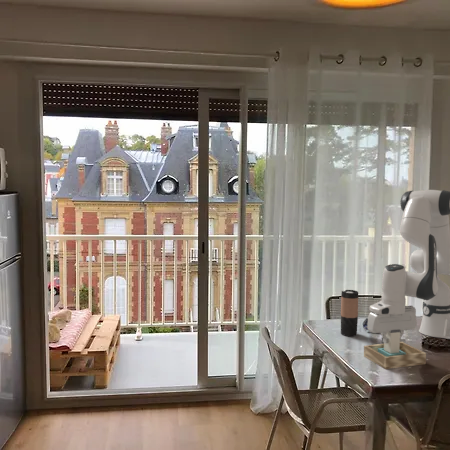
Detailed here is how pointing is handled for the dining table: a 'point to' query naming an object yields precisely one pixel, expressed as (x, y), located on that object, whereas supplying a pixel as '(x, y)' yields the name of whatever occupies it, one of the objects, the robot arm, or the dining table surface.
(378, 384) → the dining table surface
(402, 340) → the grey plug
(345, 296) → the travel mug
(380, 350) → the teal socket
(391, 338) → the ivory connector
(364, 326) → the snack package
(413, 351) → the birch crate
